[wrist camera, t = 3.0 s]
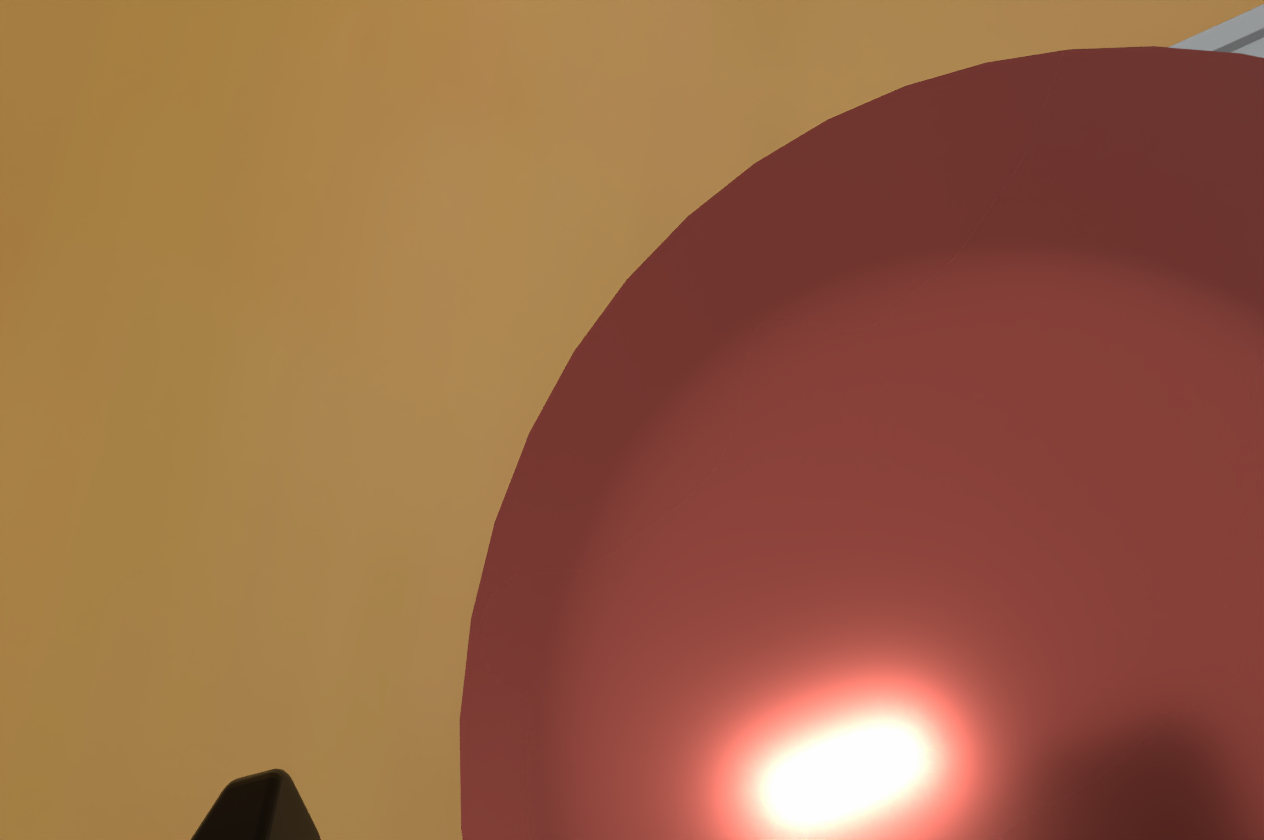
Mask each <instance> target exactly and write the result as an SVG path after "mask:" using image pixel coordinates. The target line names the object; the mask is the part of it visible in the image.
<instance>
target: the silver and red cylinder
mask: <svg viewBox="0 0 1264 840" xmlns="http://www.w3.org/2000/svg"><path fill="white" fill-rule="evenodd" d="M460 770H461V829H462V836H463V840H1264V58H1261V57H1256V56H1251V55H1246V54H1241V53H1230V52H1217V51H1205V50H1192V49H1180V48H1168V47H1155V46H1152V47H1125V48H1099V49H1072V50H1063V51H1057V52H1051V53H1045V54H1038V55H1032V56H1026V57H1019V58H1013V59H1007V60H1001V61H994V62H988V63H983V64H980V65H977V66H973V67H970V68H966V69H963V70H959V71H956V72H952V73H949V74H946V75H942V76H939V77H935V78H932V79H928V80H925V81H921V82H918V83H914V84H911V85H908V86H904V87H902V88H900V89H897V90H895V91H893V92H891V93H888V94H886V95H884V96H881V97H879V98H877V99H874V100H872V101H870V102H867V103H865V104H863V105H861V106H858V107H856V108H854V109H851V110H849V111H847V112H844V113H842V114H840V115H838V116H835V117H833V118H831V119H828V120H826V121H825V122H823V123H821V124H820V125H818V126H816V127H815V128H813V129H811V130H810V131H808V132H806V133H805V134H803V135H801V136H800V137H798V138H796V139H795V140H793V141H791V142H790V143H788V144H786V145H785V146H783V147H781V148H780V149H778V150H776V151H775V152H773V153H771V154H770V155H768V156H766V157H765V158H763V159H761V160H760V161H758V162H756V163H755V164H753V165H752V166H751V167H750V168H748V169H747V170H746V171H745V172H743V173H742V174H741V175H740V176H738V177H737V178H736V179H735V180H733V181H732V182H731V183H729V184H728V185H727V186H726V187H724V188H723V189H722V190H721V191H719V192H718V193H717V194H716V195H714V196H713V197H712V198H711V199H709V200H708V201H707V202H706V203H704V204H703V205H702V206H701V207H699V208H698V209H697V210H695V211H694V212H693V213H692V214H690V215H689V216H688V217H687V218H686V219H685V220H684V221H683V222H682V223H681V224H680V225H679V226H678V227H677V228H676V229H675V230H674V231H673V232H672V233H671V235H670V236H669V237H668V238H667V239H666V240H665V241H664V242H663V243H662V244H661V245H660V246H659V247H658V248H657V249H656V250H655V251H654V252H653V253H652V254H651V255H650V256H649V257H648V258H647V259H646V260H645V261H644V263H643V264H642V265H641V266H640V267H639V268H638V269H637V270H636V271H635V272H634V273H633V274H632V275H631V276H630V277H629V278H628V279H627V280H626V282H625V283H624V284H623V286H622V287H621V288H620V290H619V291H618V293H617V294H616V295H615V297H614V298H613V299H612V301H611V302H610V303H609V305H608V306H607V308H606V309H605V310H604V312H603V313H602V314H601V316H600V317H599V318H598V320H597V321H596V322H595V324H594V325H593V327H592V328H591V329H590V331H589V332H588V333H587V335H586V336H585V337H584V339H583V340H582V342H581V343H580V344H579V346H578V347H577V348H576V350H575V351H574V353H573V354H572V356H571V358H570V360H569V362H568V364H567V365H566V367H565V369H564V371H563V373H562V374H561V376H560V378H559V380H558V382H557V384H556V385H555V387H554V389H553V391H552V393H551V395H550V396H549V398H548V400H547V402H546V404H545V406H544V407H543V409H542V411H541V413H540V415H539V416H538V418H537V420H536V422H535V424H534V426H533V427H532V429H531V431H530V433H529V435H528V438H527V441H526V443H525V446H524V448H523V451H522V453H521V456H520V459H519V461H518V464H517V466H516V469H515V472H514V474H513V477H512V479H511V482H510V484H509V487H508V490H507V492H506V495H505V497H504V500H503V503H502V505H501V508H500V510H499V513H498V515H497V518H496V521H495V524H494V528H493V532H492V536H491V540H490V544H489V548H488V552H487V556H486V560H485V565H484V569H483V573H482V577H481V581H480V585H479V589H478V593H477V597H476V601H475V605H474V610H473V614H472V618H471V626H470V635H469V643H468V652H467V661H466V670H465V679H464V688H463V697H462V706H461V715H460Z"/></svg>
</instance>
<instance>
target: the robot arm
mask: <svg viewBox="0 0 1264 840" xmlns="http://www.w3.org/2000/svg"><path fill="white" fill-rule="evenodd" d="M191 840H321V839H320V836H319V833H318V831H317V829H316V827H315V825H314V823H313V821H312V819H311V817H310V815H309V813H308V811H307V809H306V807H305V805H304V803H303V801H302V799H301V797H300V795H299V793H298V791H297V788H296V786H295V784H294V782H293V781H292V779H291V777H290V776H289V775H288V774H287V773H286V772H285V771H284V770H282V769H272V770H268V771H264V772H261V773H257V774H253V775H249V776H245V777H242V778H238V779H235V780H233V781H232V782H230V783H229V784H228V785H227V786H226V787H225V788H224V790H223V791H222V792H221V794H220V796H219V797H218V799H217V800H216V802H215V803H214V805H213V806H212V808H211V809H210V811H209V812H208V814H207V815H206V817H205V819H204V820H203V822H202V823H201V825H200V826H199V828H198V829H197V831H196V832H195V834H194V835H193V837H192V838H191Z"/></svg>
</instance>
